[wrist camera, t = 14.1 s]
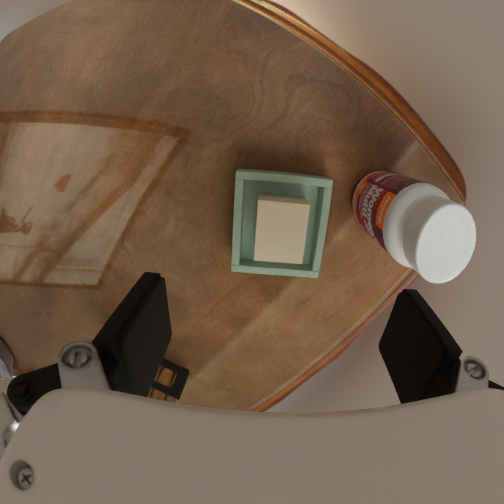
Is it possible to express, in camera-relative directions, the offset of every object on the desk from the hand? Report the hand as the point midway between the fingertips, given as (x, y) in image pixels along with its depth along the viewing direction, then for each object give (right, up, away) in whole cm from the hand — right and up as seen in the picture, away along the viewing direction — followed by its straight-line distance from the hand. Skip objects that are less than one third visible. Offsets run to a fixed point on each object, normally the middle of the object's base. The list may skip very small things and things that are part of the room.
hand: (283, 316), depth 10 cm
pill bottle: (+11, +7, +13) cm, 19 cm away
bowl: (-59, -20, +28) cm, 68 cm away
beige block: (+1, +5, +14) cm, 15 cm away
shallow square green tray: (+1, +5, +14) cm, 15 cm away
